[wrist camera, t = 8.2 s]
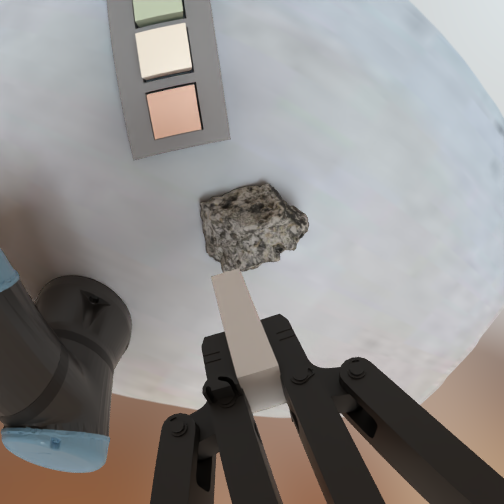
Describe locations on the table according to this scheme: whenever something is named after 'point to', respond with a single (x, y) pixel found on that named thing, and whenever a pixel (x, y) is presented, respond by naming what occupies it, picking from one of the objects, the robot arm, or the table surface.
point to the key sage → (156, 11)
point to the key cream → (163, 51)
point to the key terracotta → (174, 111)
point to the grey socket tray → (168, 79)
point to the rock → (250, 227)
